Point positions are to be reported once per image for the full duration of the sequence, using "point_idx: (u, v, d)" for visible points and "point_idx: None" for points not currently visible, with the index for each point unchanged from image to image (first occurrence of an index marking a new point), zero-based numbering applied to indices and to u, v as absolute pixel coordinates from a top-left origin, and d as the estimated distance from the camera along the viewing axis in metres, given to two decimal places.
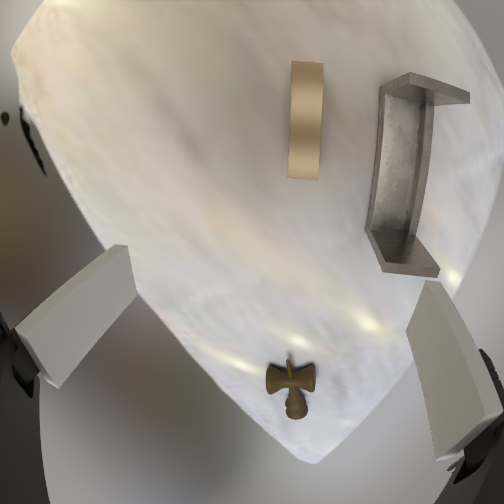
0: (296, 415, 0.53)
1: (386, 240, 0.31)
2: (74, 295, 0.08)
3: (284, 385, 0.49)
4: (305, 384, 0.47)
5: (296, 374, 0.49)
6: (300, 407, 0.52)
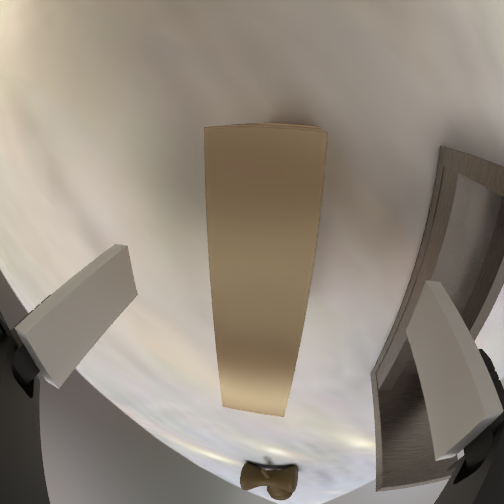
0: (279, 497, 0.39)
1: (398, 421, 0.16)
2: (74, 295, 0.08)
3: (261, 485, 0.35)
4: (284, 487, 0.33)
5: (274, 476, 0.35)
6: (282, 494, 0.38)
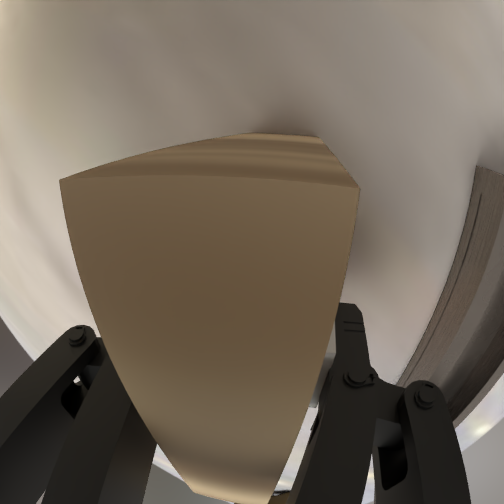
0: None
1: None
2: None
3: None
4: None
5: (269, 502, 0.31)
6: None
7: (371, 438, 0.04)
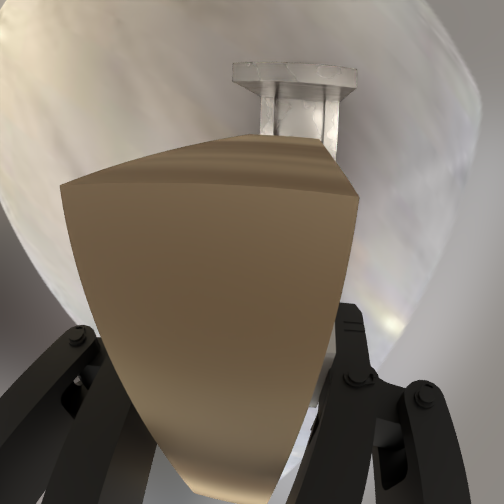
0: None
1: None
2: None
3: None
4: None
5: None
6: None
7: (371, 438, 0.04)
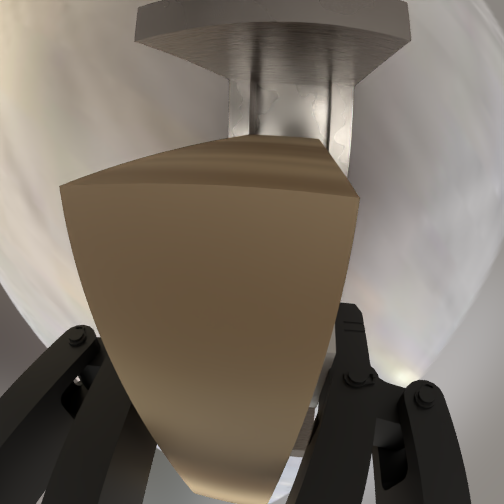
0: None
1: None
2: None
3: None
4: None
5: None
6: None
7: (371, 438, 0.04)
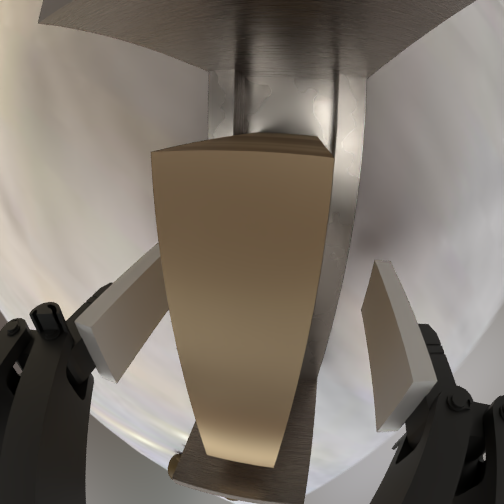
0: None
1: None
2: (136, 286, 0.09)
3: None
4: None
5: None
6: None
7: (461, 460, 0.03)
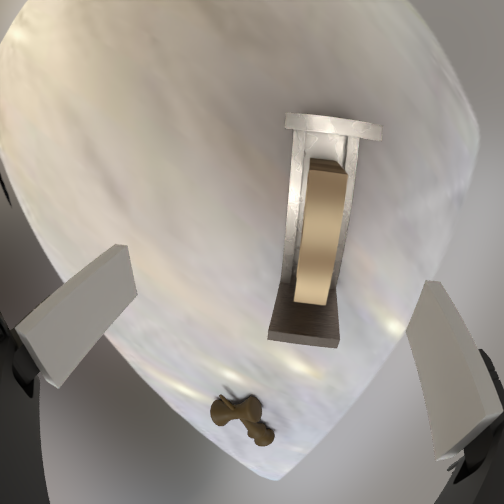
0: (261, 442, 0.51)
1: (291, 298, 0.31)
2: (74, 295, 0.08)
3: (229, 417, 0.48)
4: (244, 415, 0.46)
5: (237, 407, 0.49)
6: (259, 435, 0.50)
7: None
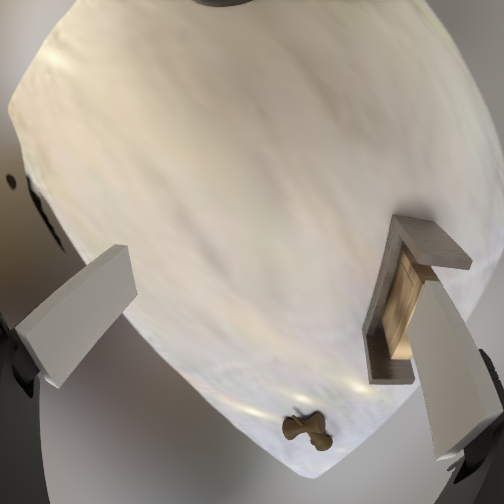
0: (322, 448, 0.58)
1: (377, 350, 0.37)
2: (74, 295, 0.08)
3: (299, 432, 0.55)
4: (313, 429, 0.53)
5: (306, 422, 0.55)
6: (322, 442, 0.56)
7: None
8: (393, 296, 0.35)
